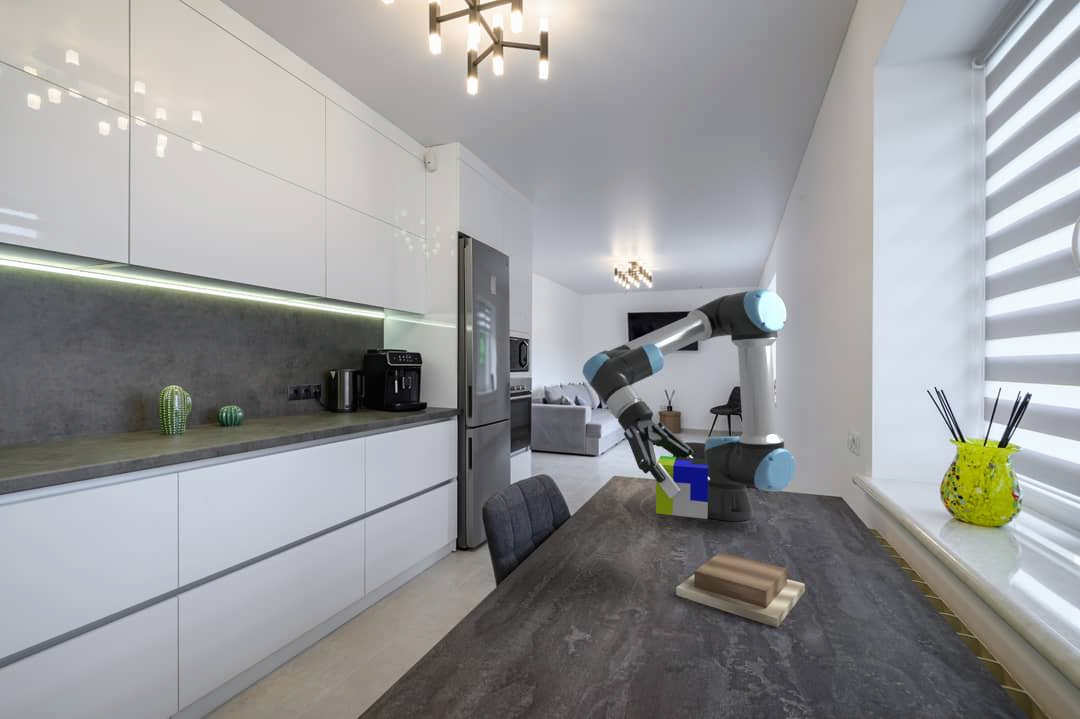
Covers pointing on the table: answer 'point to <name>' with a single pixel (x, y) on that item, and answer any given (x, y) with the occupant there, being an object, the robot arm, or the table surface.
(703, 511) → the puzzle toy
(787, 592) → the build plinth
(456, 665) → the table surface
